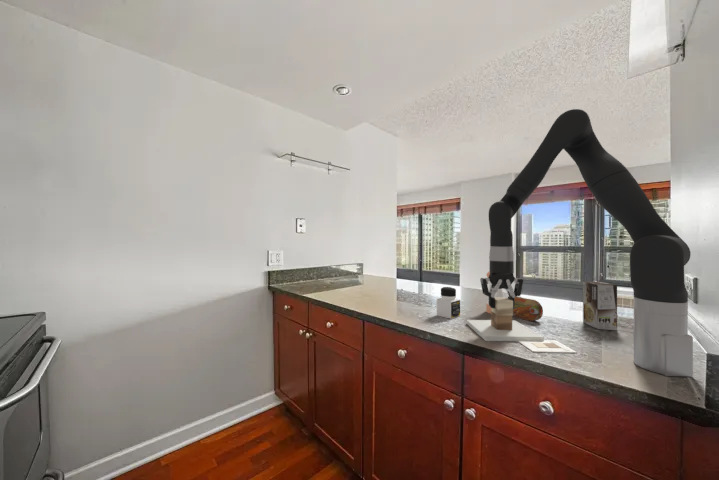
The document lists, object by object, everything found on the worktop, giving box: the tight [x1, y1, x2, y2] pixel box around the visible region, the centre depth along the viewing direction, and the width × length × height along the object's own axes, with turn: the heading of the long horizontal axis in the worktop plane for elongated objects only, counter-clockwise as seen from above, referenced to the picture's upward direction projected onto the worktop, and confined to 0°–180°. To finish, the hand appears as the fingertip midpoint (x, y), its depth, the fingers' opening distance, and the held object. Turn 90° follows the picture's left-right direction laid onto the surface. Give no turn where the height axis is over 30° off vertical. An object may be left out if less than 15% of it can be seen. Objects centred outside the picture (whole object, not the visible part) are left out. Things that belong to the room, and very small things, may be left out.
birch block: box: [492, 297, 514, 317], centre depth 97 cm, size 5×5×5 cm
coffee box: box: [582, 280, 618, 331], centre depth 103 cm, size 9×6×16 cm
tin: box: [512, 296, 544, 322], centre depth 114 cm, size 15×3×8 cm, turn 21°
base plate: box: [466, 319, 545, 342], centre depth 97 cm, size 18×18×2 cm
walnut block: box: [490, 311, 513, 330], centre depth 97 cm, size 5×5×5 cm
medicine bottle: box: [436, 286, 461, 320], centre depth 118 cm, size 7×7×12 cm
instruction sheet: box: [517, 339, 578, 354], centre depth 84 cm, size 9×12×1 cm
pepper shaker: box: [485, 270, 505, 315], centre depth 122 cm, size 7×7×19 cm
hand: (501, 307), depth 97 cm, fingers open, 5 cm apart
